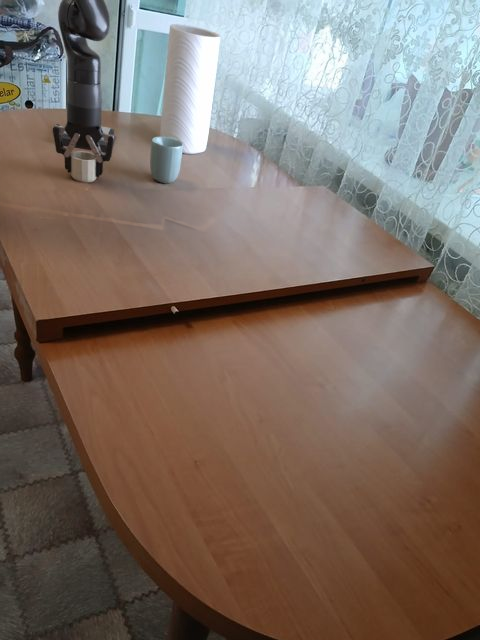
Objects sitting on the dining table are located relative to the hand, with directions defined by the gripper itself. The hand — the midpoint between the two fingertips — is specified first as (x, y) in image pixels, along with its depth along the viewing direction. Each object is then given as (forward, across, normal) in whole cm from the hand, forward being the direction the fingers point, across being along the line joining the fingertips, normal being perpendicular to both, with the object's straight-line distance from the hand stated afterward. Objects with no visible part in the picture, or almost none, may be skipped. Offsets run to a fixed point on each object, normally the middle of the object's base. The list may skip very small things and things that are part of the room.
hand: (84, 173), depth 133 cm
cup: (+1, +19, +7) cm, 20 cm away
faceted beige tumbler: (+1, 0, 0) cm, 1 cm away
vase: (+1, +23, +37) cm, 44 cm away
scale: (+1, -4, +28) cm, 28 cm away
